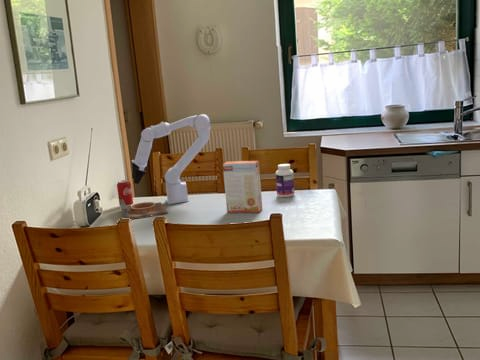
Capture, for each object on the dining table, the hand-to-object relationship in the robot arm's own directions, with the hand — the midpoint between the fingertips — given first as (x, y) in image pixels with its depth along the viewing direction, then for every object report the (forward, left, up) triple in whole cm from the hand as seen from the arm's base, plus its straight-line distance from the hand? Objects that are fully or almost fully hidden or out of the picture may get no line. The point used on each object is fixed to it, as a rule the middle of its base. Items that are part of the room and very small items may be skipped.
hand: (135, 180), depth 234 cm
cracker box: (-40, +39, -12) cm, 57 cm away
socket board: (-1, +15, -11) cm, 19 cm away
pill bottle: (-64, +26, -12) cm, 70 cm away
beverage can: (+5, -1, -12) cm, 13 cm away
